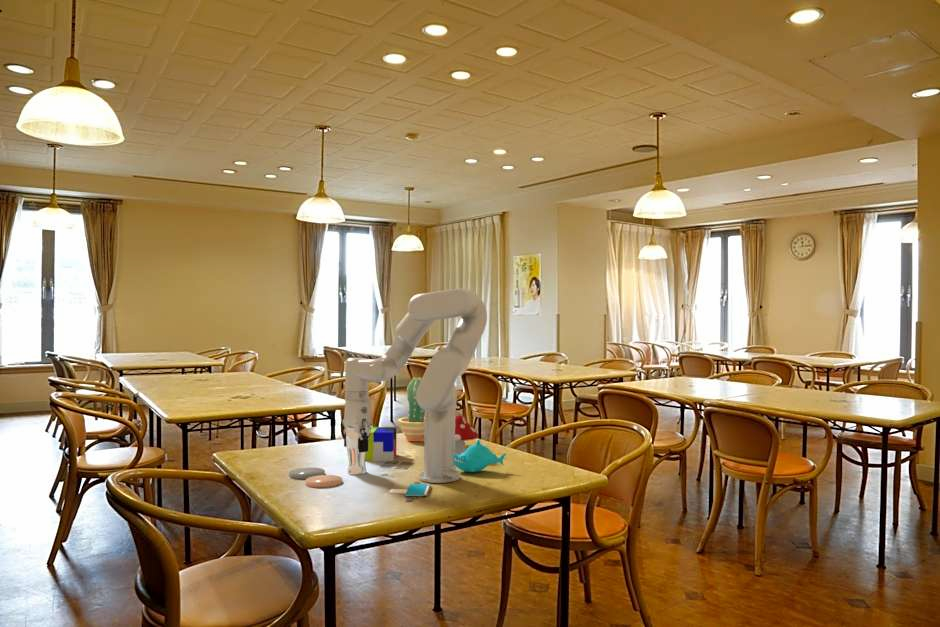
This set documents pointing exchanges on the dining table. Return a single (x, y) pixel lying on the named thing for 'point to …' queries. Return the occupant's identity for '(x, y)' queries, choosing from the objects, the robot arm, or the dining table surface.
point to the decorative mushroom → (463, 434)
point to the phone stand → (413, 490)
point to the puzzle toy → (381, 444)
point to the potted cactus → (413, 415)
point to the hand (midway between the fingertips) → (355, 449)
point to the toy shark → (476, 458)
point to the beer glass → (355, 453)
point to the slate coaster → (306, 473)
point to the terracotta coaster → (323, 481)
